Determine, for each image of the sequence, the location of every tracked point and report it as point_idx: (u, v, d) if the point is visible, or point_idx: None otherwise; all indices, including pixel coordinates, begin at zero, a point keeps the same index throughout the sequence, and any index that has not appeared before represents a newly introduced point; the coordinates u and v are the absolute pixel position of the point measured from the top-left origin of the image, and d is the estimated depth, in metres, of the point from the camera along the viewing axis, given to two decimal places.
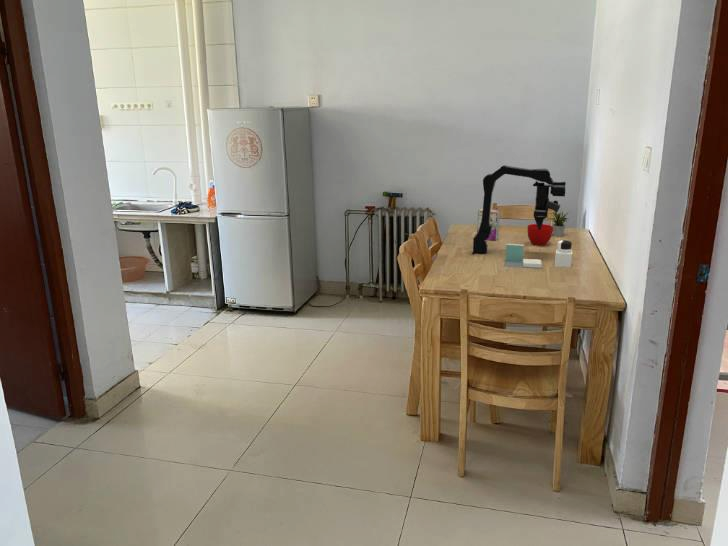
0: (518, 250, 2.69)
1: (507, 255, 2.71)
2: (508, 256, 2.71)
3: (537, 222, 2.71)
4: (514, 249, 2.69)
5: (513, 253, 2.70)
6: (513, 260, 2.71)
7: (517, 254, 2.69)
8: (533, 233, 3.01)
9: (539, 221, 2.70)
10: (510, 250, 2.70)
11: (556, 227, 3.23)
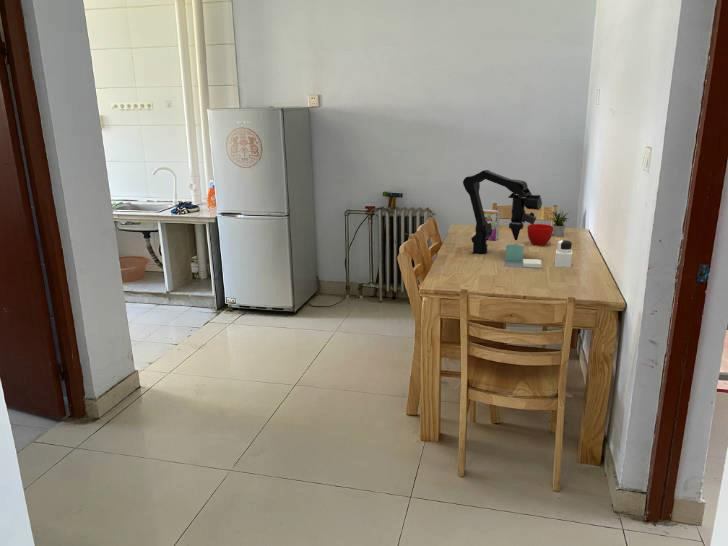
0: (518, 250, 2.69)
1: (507, 255, 2.71)
2: (508, 256, 2.71)
3: (513, 232, 2.74)
4: (514, 249, 2.69)
5: (513, 253, 2.70)
6: (513, 260, 2.71)
7: (517, 254, 2.69)
8: (533, 233, 3.01)
9: (515, 231, 2.73)
10: (510, 250, 2.70)
11: (556, 227, 3.23)
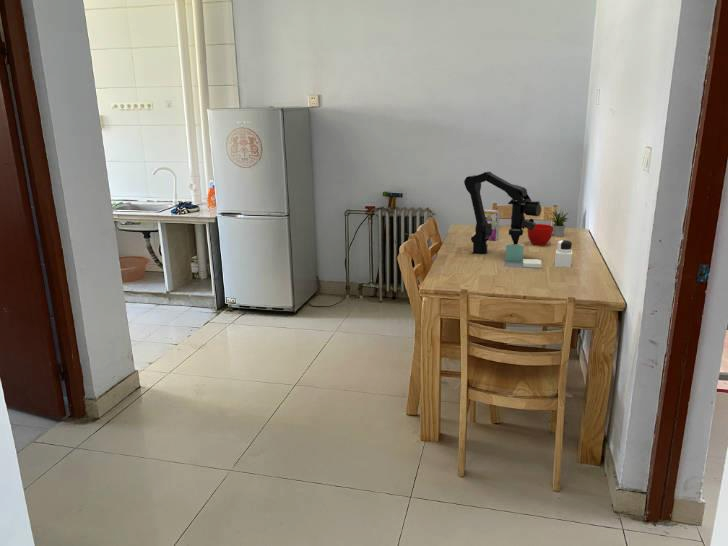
0: (518, 250, 2.69)
1: (507, 255, 2.71)
2: (508, 256, 2.71)
3: (513, 239, 2.74)
4: (514, 249, 2.69)
5: (513, 253, 2.70)
6: (513, 260, 2.71)
7: (517, 254, 2.69)
8: (533, 233, 3.01)
9: (515, 238, 2.73)
10: (510, 250, 2.70)
11: (556, 227, 3.23)
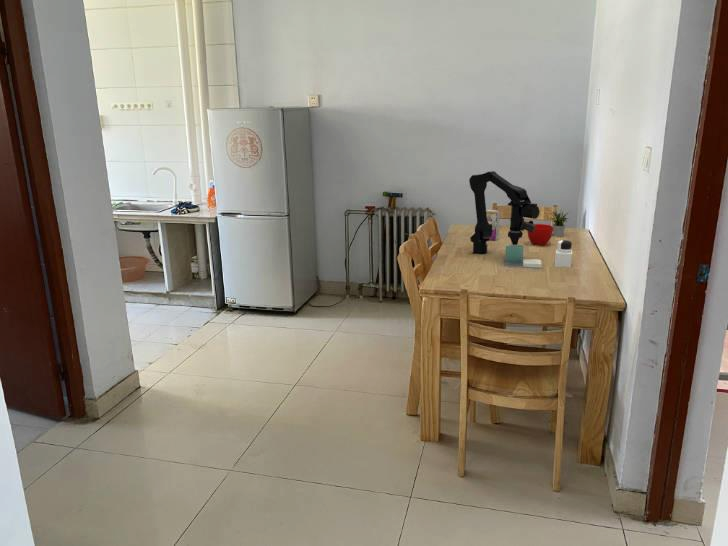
0: (518, 251, 2.68)
1: (507, 255, 2.71)
2: (508, 256, 2.71)
3: (512, 241, 2.69)
4: (514, 250, 2.68)
5: (513, 254, 2.69)
6: (513, 260, 2.71)
7: (517, 255, 2.69)
8: (533, 233, 3.01)
9: (514, 240, 2.68)
10: (510, 251, 2.69)
11: (556, 227, 3.23)
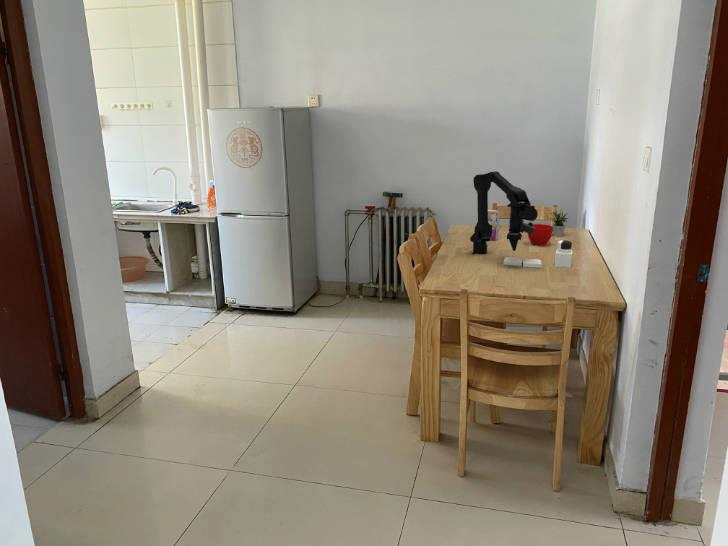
0: None
1: None
2: None
3: (511, 243, 2.65)
4: None
5: None
6: None
7: None
8: (533, 233, 3.01)
9: (513, 242, 2.65)
10: None
11: (556, 227, 3.23)
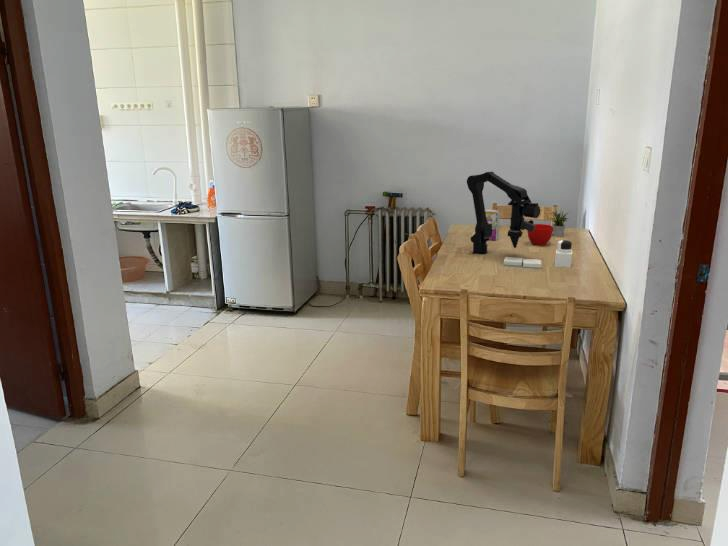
0: None
1: None
2: None
3: (512, 240, 2.71)
4: None
5: None
6: None
7: None
8: (533, 233, 3.01)
9: (514, 239, 2.71)
10: None
11: (556, 227, 3.23)
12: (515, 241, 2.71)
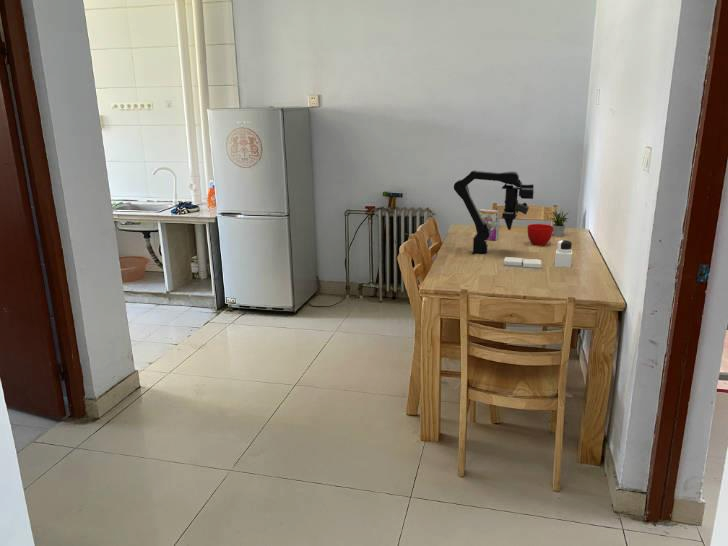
0: None
1: None
2: None
3: (507, 222, 2.79)
4: None
5: None
6: None
7: None
8: (533, 233, 3.01)
9: (509, 221, 2.79)
10: None
11: (556, 227, 3.23)
12: (509, 223, 2.79)
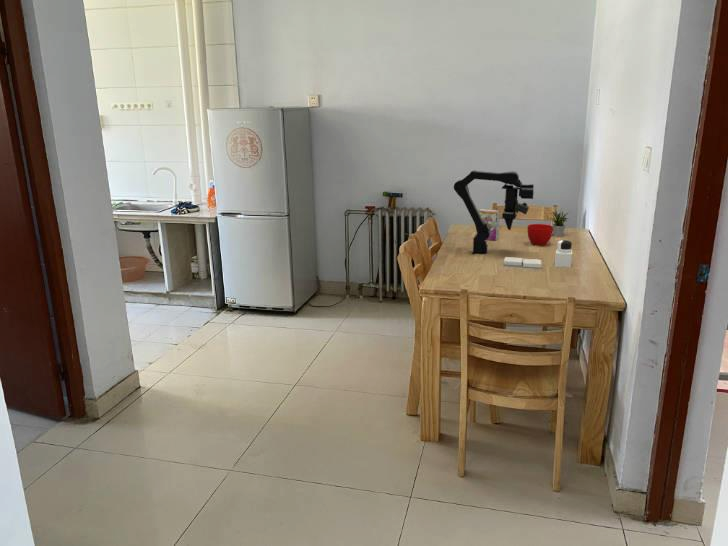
0: None
1: None
2: None
3: (507, 222, 2.79)
4: None
5: None
6: None
7: None
8: (533, 233, 3.01)
9: (509, 221, 2.79)
10: None
11: (556, 227, 3.23)
12: (509, 223, 2.79)
